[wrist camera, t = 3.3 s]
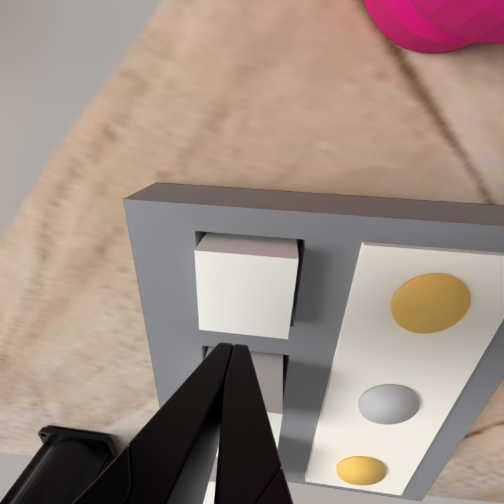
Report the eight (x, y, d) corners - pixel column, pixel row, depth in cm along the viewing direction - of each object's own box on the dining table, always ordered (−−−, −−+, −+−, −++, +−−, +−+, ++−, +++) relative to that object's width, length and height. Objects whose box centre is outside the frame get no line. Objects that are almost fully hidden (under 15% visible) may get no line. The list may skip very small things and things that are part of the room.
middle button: (211, 392, 16) (195, 453, 13) (209, 344, 14) (190, 402, 11) (276, 401, 15) (275, 465, 13) (282, 352, 14) (282, 414, 11)
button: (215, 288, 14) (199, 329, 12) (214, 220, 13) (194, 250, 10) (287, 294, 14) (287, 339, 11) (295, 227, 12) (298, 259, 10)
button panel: (183, 421, 22) (166, 472, 19) (155, 182, 13) (116, 202, 10) (403, 450, 20) (424, 511, 17) (529, 207, 12) (615, 239, 9)
